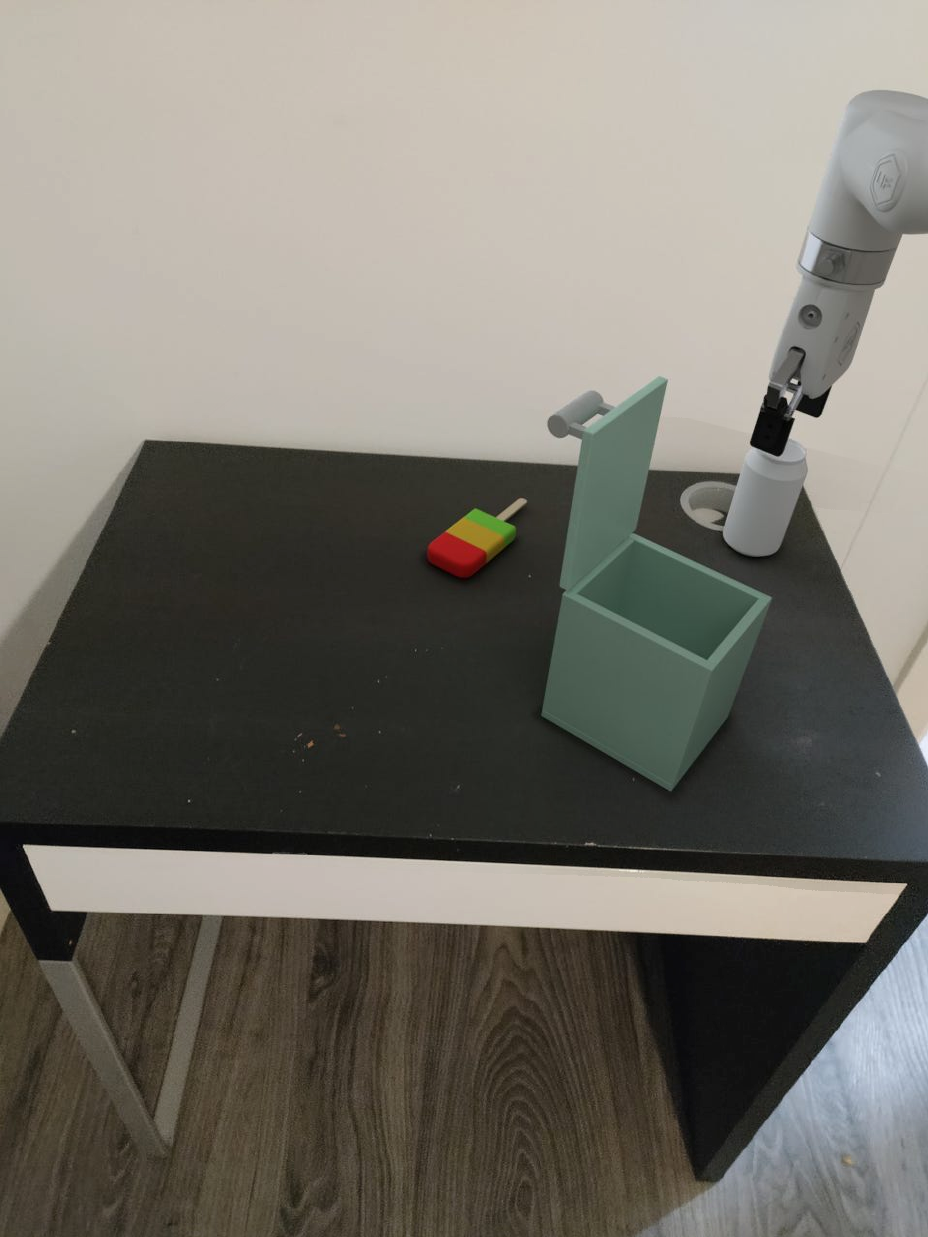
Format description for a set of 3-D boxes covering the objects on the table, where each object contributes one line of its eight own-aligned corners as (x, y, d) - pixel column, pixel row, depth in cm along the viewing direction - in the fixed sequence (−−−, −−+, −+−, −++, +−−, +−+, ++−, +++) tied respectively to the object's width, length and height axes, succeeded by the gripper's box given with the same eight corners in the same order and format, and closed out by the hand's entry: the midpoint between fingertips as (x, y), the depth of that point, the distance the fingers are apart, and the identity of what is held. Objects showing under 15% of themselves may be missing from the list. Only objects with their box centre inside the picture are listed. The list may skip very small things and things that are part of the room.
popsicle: (421, 561, 95) (422, 546, 93) (502, 497, 104) (504, 483, 103) (465, 583, 92) (467, 568, 91) (544, 516, 102) (546, 502, 101)
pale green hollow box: (727, 717, 81) (772, 597, 72) (670, 792, 75) (712, 671, 65) (604, 651, 86) (631, 531, 77) (540, 715, 80) (562, 593, 71)
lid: (668, 378, 68) (607, 356, 70) (593, 434, 61) (528, 407, 64) (636, 529, 77) (583, 505, 79) (567, 591, 70) (511, 563, 72)
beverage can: (779, 534, 102) (813, 439, 94) (777, 567, 98) (813, 470, 90) (722, 522, 103) (751, 427, 95) (718, 554, 99) (748, 457, 91)
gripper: (852, 300, 73) (786, 482, 84) (919, 243, 84) (853, 411, 95) (763, 271, 76) (712, 451, 88) (839, 220, 87) (784, 386, 98)
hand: (785, 430), depth 91 cm, fingers open, 9 cm apart
